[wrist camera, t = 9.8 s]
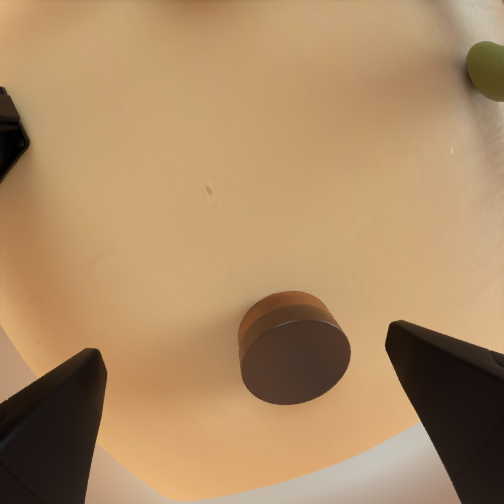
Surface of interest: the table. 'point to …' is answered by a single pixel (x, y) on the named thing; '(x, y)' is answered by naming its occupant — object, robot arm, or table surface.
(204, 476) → the table surface
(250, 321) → the teak chip
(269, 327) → the walnut chip
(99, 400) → the robot arm
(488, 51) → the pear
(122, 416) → the table surface
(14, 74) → the table surface
